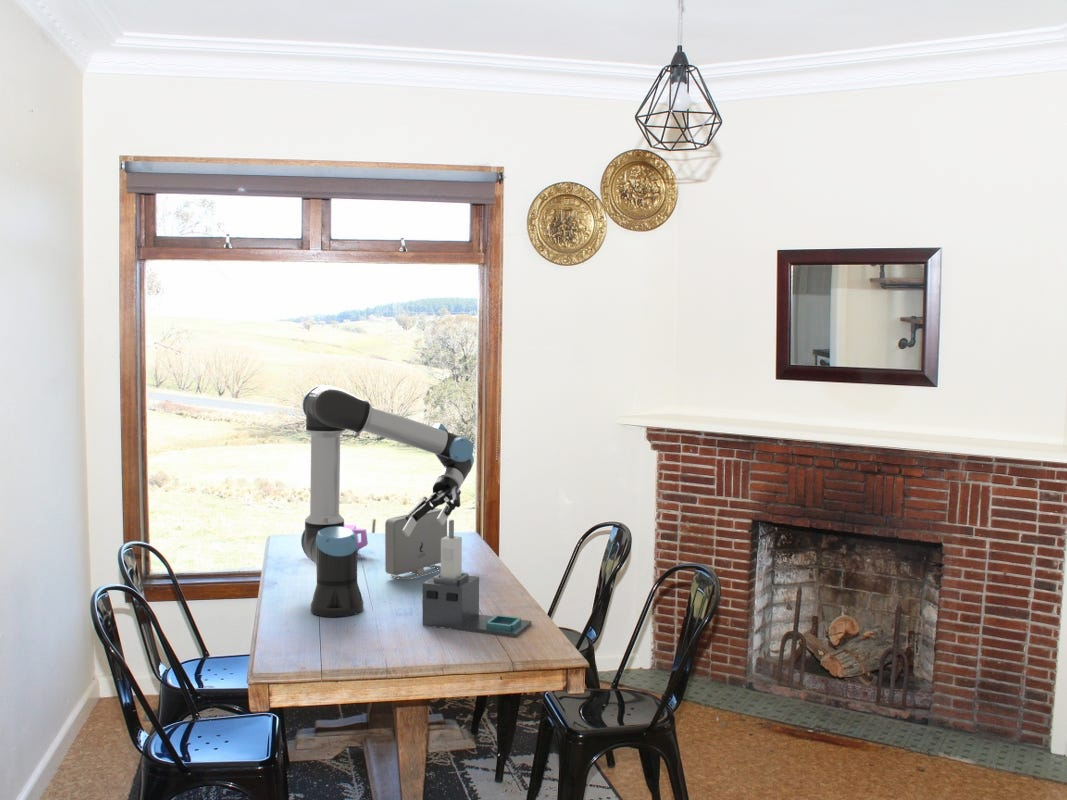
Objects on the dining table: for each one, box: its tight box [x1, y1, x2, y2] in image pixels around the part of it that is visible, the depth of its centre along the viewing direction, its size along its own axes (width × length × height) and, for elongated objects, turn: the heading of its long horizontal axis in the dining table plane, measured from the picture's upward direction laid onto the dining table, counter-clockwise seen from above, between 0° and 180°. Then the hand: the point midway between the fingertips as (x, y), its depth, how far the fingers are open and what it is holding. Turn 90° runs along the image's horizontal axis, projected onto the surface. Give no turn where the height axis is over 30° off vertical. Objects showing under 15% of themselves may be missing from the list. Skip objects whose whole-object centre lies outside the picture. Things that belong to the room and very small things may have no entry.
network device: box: [384, 507, 448, 580], centre depth 331 cm, size 26×9×20 cm, turn 143°
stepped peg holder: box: [421, 572, 532, 638], centre depth 277 cm, size 13×28×13 cm, turn 70°
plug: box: [440, 519, 463, 579], centre depth 278 cm, size 5×4×17 cm
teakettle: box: [344, 523, 369, 555], centre depth 353 cm, size 17×17×12 cm
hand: (422, 527), depth 294 cm, fingers open, 13 cm apart
